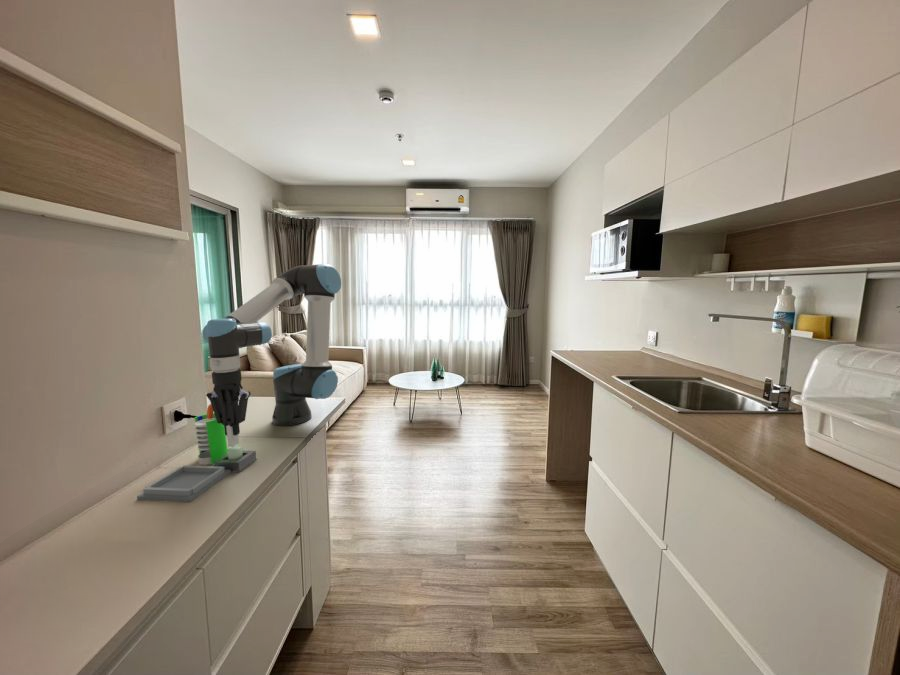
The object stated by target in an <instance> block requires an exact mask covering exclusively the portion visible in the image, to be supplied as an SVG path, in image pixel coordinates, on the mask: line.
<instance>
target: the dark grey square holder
mask: <svg viewBox="0 0 900 675" xmlns="http://www.w3.org/2000/svg"><path fill="white" fill-rule="evenodd" d="M242 451H243V457H241V458H240V459H239V460H228V454H226V455H224V456H223V457H221V458H220V459H218V460H216V461H215V462H214V464H213V465H214V466H217V467H225V469H227V470H231V473H241V472H242V471H243V470H245V469H247V468H248V467H249V466H250V465H252V464H253V463H254V462H256V461H257V452H256V450H242ZM255 460H256V461H255Z"/></svg>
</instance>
